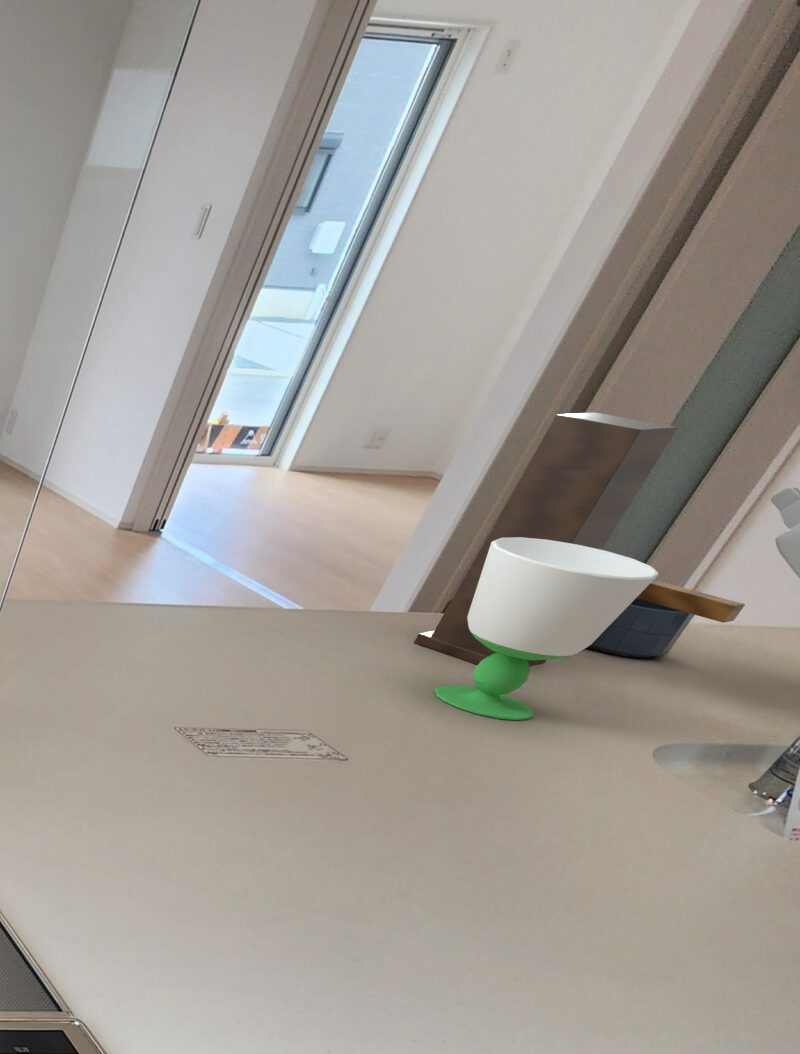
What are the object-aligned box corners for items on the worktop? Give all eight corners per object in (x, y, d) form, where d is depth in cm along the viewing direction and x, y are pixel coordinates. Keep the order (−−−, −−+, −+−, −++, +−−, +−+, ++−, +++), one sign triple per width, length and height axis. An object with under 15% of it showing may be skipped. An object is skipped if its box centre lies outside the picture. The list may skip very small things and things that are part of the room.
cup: (581, 739, 113) (687, 586, 104) (432, 715, 116) (521, 564, 107) (529, 691, 124) (621, 548, 114) (393, 670, 127) (472, 529, 117)
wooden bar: (733, 620, 130) (745, 604, 129) (723, 622, 129) (735, 606, 128) (566, 574, 143) (576, 558, 142) (556, 576, 142) (565, 560, 141)
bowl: (682, 654, 138) (715, 607, 134) (637, 665, 133) (670, 616, 130) (582, 624, 146) (611, 579, 142) (536, 633, 141) (565, 587, 138)
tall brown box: (545, 662, 132) (694, 428, 117) (499, 672, 128) (647, 432, 113) (459, 634, 139) (589, 410, 124) (413, 642, 136) (541, 412, 120)
